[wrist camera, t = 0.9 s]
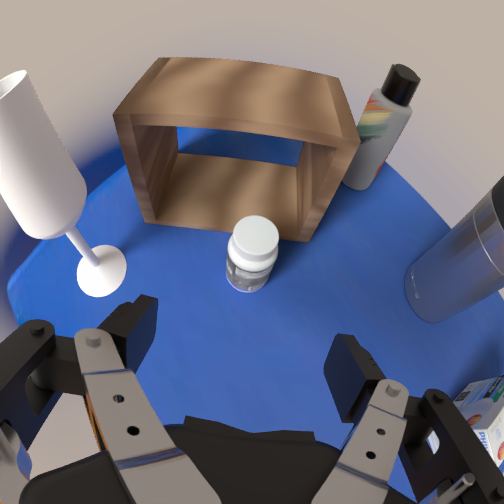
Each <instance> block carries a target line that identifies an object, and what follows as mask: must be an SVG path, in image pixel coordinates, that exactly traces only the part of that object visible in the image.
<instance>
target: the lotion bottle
mask: <svg viewBox="0 0 504 504" xmlns="http://www.w3.org/2000/svg"><path fill="white" fill-rule="evenodd" d="M420 80H421V79H420V78H419V77H418V76H417V75H416V73H415V72H414V71H413V70H411V69H410V68H408V67H406V66H404V65H402V64H396V65H394V64H393V65H392V66H391V68H390V71H389V73H388V75H387V77H386V80H385V82H384V84H383V86H382V88H381V89H374V90H373V92H372V93H371V96H370V98H369V101H368V102H367V105H366V107H365V109H364V112H363V114H362V116H361V119H360V121H359V123H358V125H357V127H356V128H357V131H358V134H359V137H360V141H361V143H360V145H359V147H358V149H357V151H356V153H355V155H354V157H353V159H352V161H351V163H350V165H349V167H348V169H347V171H346V173H345V175H344V177H343V179H342V182H343V183H344V184H345V185H346V186H348V187H349V188H352V189H354V190H365V189H367V188H368V187H369V186H370V184H371V183H372V181H373V180H374V178H375V177H376V175H377V173H378V172H379V170H380V168H381V167H382V165H383V163H384V162H385V160H386V158H387V157H388V155H389V153H390V152H391V150H392V148H393V146H394V145H395V143H396V141H397V139H398V138H399V136H400V134H401V133H402V131H403V129H404V127H405V126H406V124H407V122H408V120H409V118H410V116H411V114H412V109H411V107H410V106H409V103H410V101H411V99H412V97H413V95H414V93H415V91H416V89H417V87H418V85H419V83H420Z"/></svg>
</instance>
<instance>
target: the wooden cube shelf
mask: <svg viewBox="0 0 504 504" xmlns="http://www.w3.org/2000/svg"><path fill="white" fill-rule="evenodd" d="M113 118H114V122H115V126H116V130H117V134H118V137H119V141H120V145H121V149H122V152H123V156H124V159H125V163H126V166H127V169H128V173H129V176H130V179H131V182H132V186H133V189H134V192H135V195H136V198H137V201H138V204H139V207H140V210H141V213H142V216H143V218H144V221H145V223H150V224H159V225H168V226H177V227H186V228H195V229H203V230H212V231H220V232H228V233H233V231H234V228H235V226H236V224H237V223H238V222H239V221H240V220H241V219H243V218H244V217H247V216H252V215H257V216H262V217H265V218H267V219H268V220H270V221H271V222H272V223H273V224H274V225H275V226H276V228H277V230H278V233H279V239H284V240H292V241H300V242H307V243H309V241H310V239H311V237H312V235H313V234H314V232H315V230H316V228H317V226H318V224H319V222H320V221H321V219H322V217H323V215H324V213H325V211H326V209H327V207H328V206H329V204H330V202H331V200H332V198H333V196H334V194H335V192H336V190H337V188H338V186H339V184H340V182H341V181H342V179H343V177H344V175H345V173H346V171H347V169H348V167H349V165H350V163H351V161H352V159H353V157H354V155H355V153H356V151H357V149H358V147H359V145H360V143H361V141H360V137H359V134H358V131H357V128H356V125H355V122H354V119H353V116H352V113H351V110H350V107H349V104H348V102H347V99H346V96H345V93H344V91H343V88H342V86H341V83H340V80H339V78H336V77H332V76H328V75H324V74H320V73H316V72H311V71H306V70H301V69H296V68H291V67H285V66H279V65H273V64H266V63H258V62H250V61H240V60H230V59H215V58H187V57H185V58H184V57H183V58H181V57H176V58H175V57H173V58H158V59H157V60H156V61H155V62H154V64H153V65H152V66H151V67H150V68H149V69H148V70H147V72H146V73H145V74H144V75H143V76H142V77H141V79H140V80H139V81H138V82H137V83H136V85H135V86H134V87H133V88H132V90H131V91H130V92H129V93H128V94H127V96H126V97H125V98H124V100H123V101H122V102H121V104H120V105H119V106H118V108H117V109H116V110H115V112H114V113H113ZM176 126H182V127H198V128H211V129H222V130H231V131H240V132H249V133H256V134H264V135H270V136H277V137H283V138H289V139H295V140H301V141H304V144H303V147H302V150H301V153H300V156H299V159H298V162H297V166H296V167H293V166H287V165H281V164H274V163H267V162H260V161H253V160H245V159H236V158H228V157H218V156H208V155H197V154H184V153H179V150H178V139H177V128H176Z"/></svg>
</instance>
